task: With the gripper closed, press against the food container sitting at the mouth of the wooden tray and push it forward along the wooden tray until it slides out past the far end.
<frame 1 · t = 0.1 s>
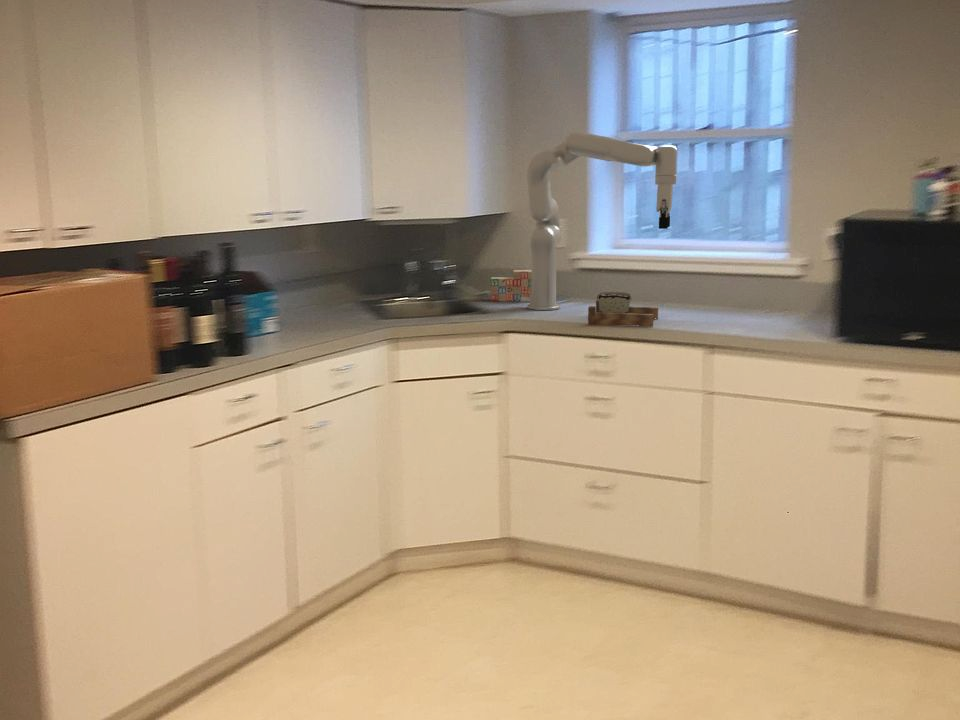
hand: (664, 227, 365), 31 cm above the worktop, tool pointing down, fingers open, 9 cm apart
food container: (615, 321, 351), on the worktop
stack of blocks: (517, 301, 406), on the worktop
wooden tray: (623, 321, 350), on the worktop
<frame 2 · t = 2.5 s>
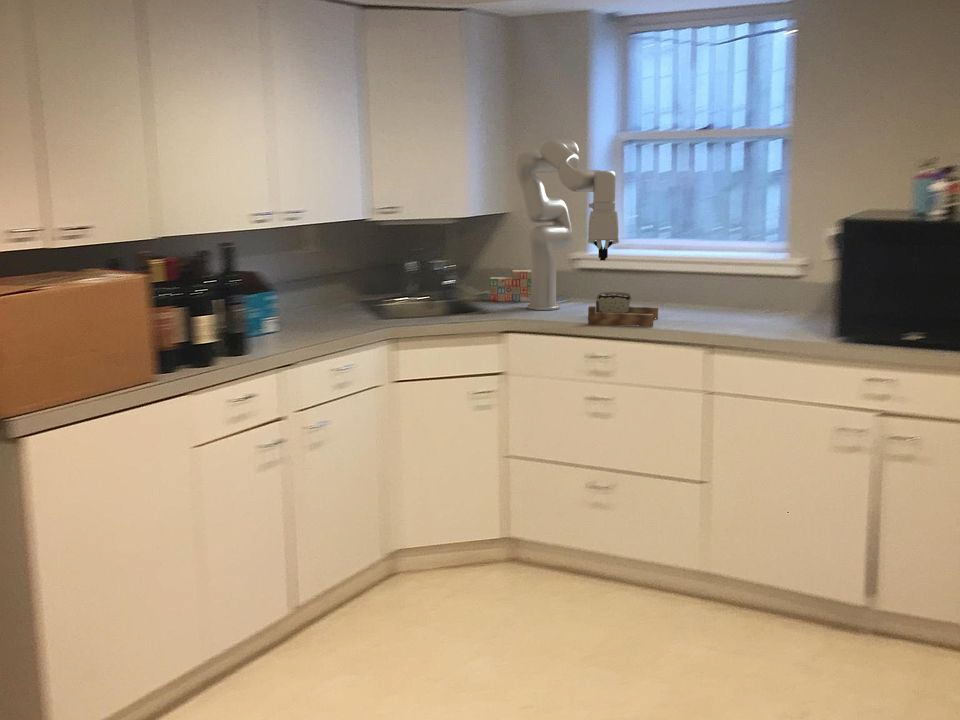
hand: (602, 260, 348), 21 cm above the worktop, tool pointing down, fingers closed
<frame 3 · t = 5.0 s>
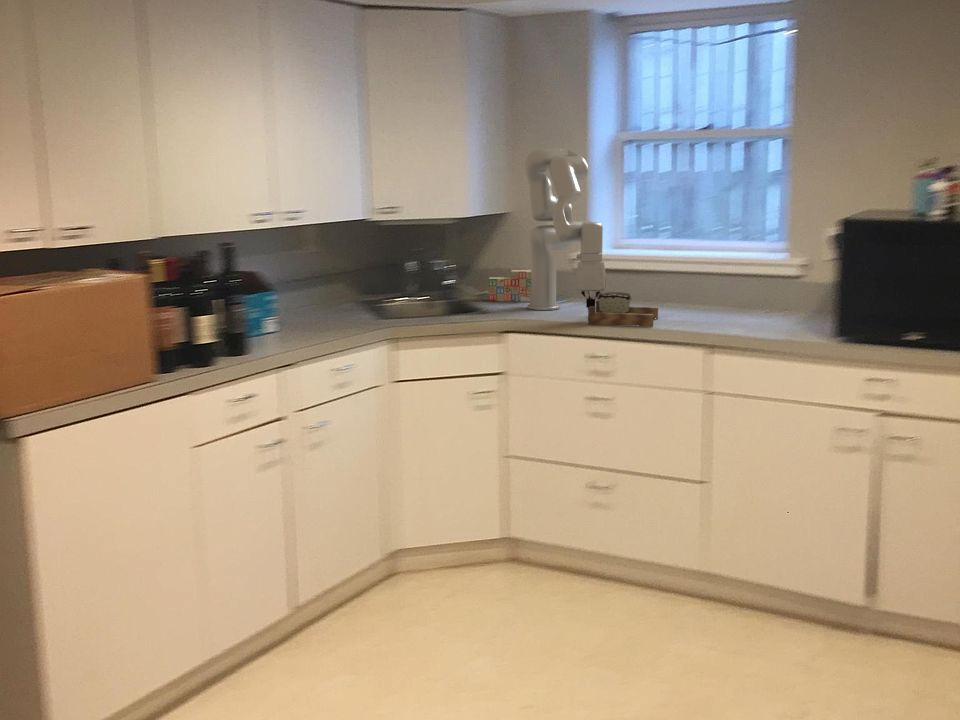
hand: (590, 309, 353), 4 cm above the worktop, tool pointing down, fingers closed
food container: (615, 321, 351), on the worktop, touching gripper
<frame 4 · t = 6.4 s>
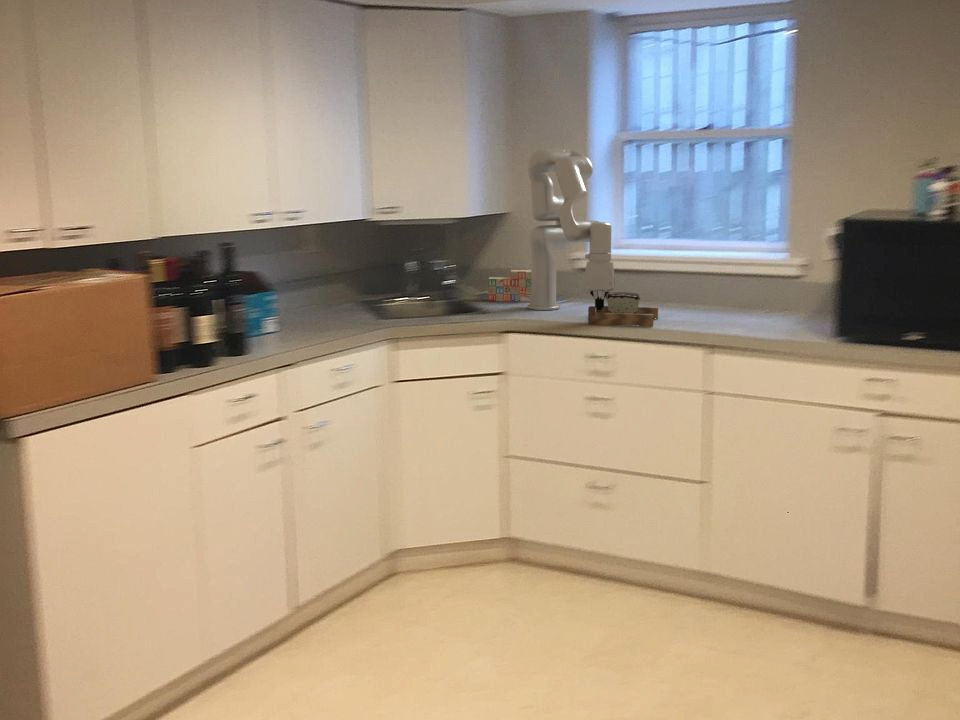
hand: (599, 309, 352), 4 cm above the worktop, tool pointing down, fingers closed
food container: (623, 321, 350), on the worktop, touching gripper
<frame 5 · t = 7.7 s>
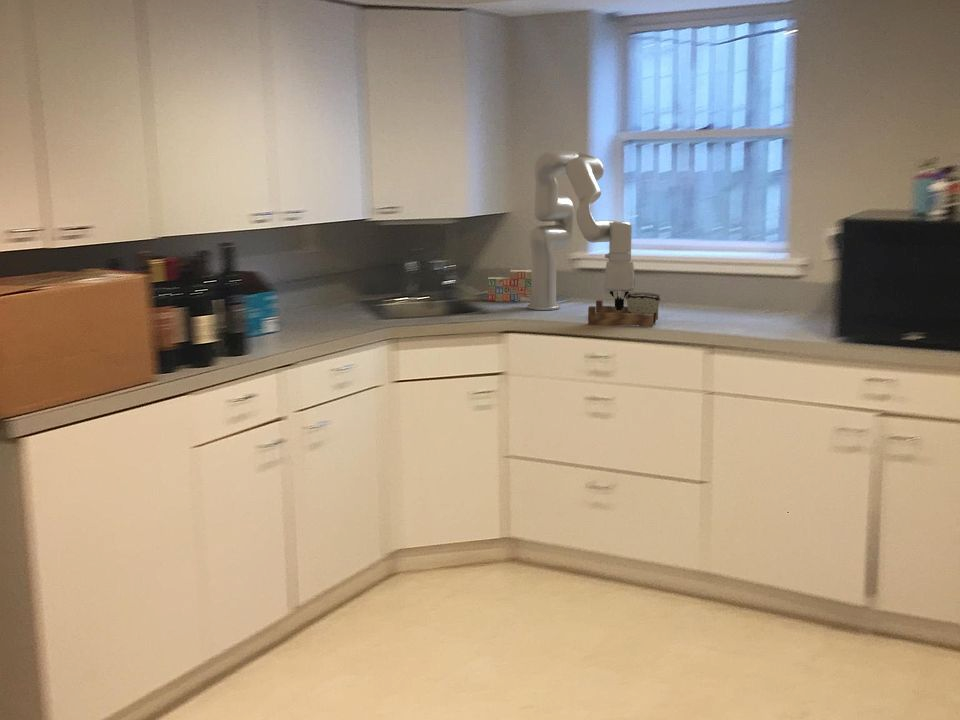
hand: (619, 309, 350), 4 cm above the worktop, tool pointing down, fingers closed
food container: (643, 322, 348), on the worktop, touching gripper
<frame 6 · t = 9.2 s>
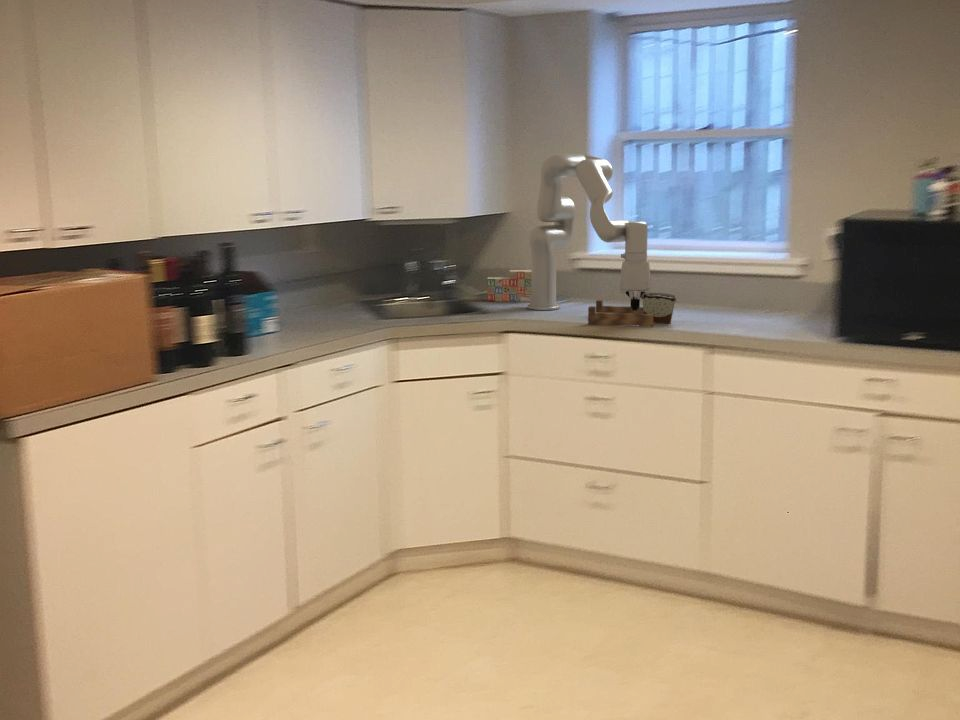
hand: (635, 309, 348), 4 cm above the worktop, tool pointing down, fingers closed
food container: (658, 322, 346), on the worktop, touching gripper
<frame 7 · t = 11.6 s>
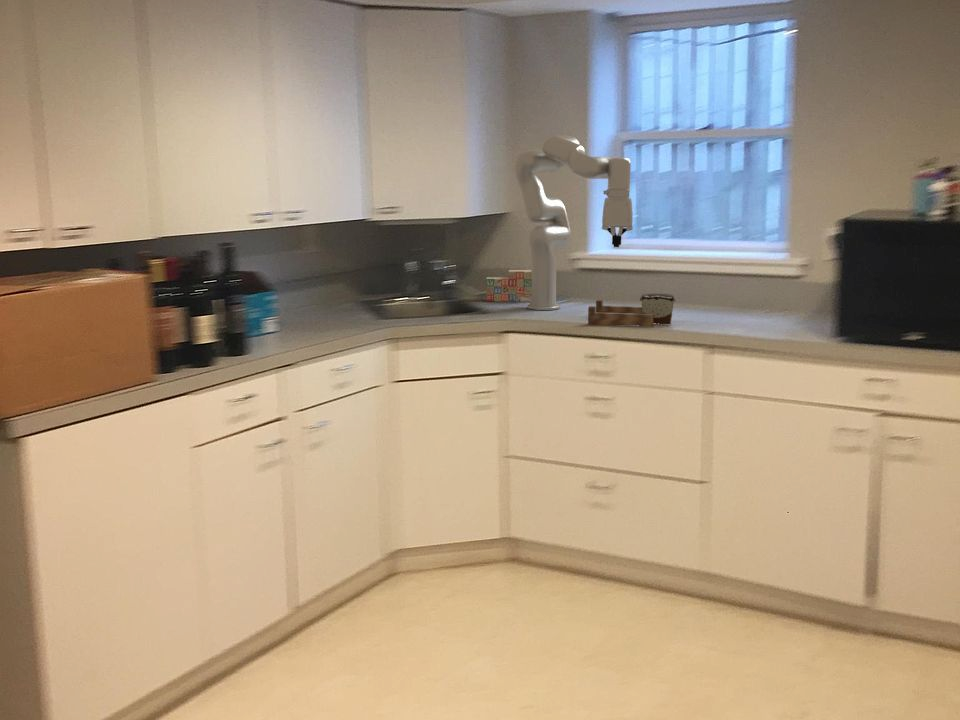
hand: (616, 246, 350), 26 cm above the worktop, tool pointing down, fingers closed
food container: (658, 323, 346), on the worktop
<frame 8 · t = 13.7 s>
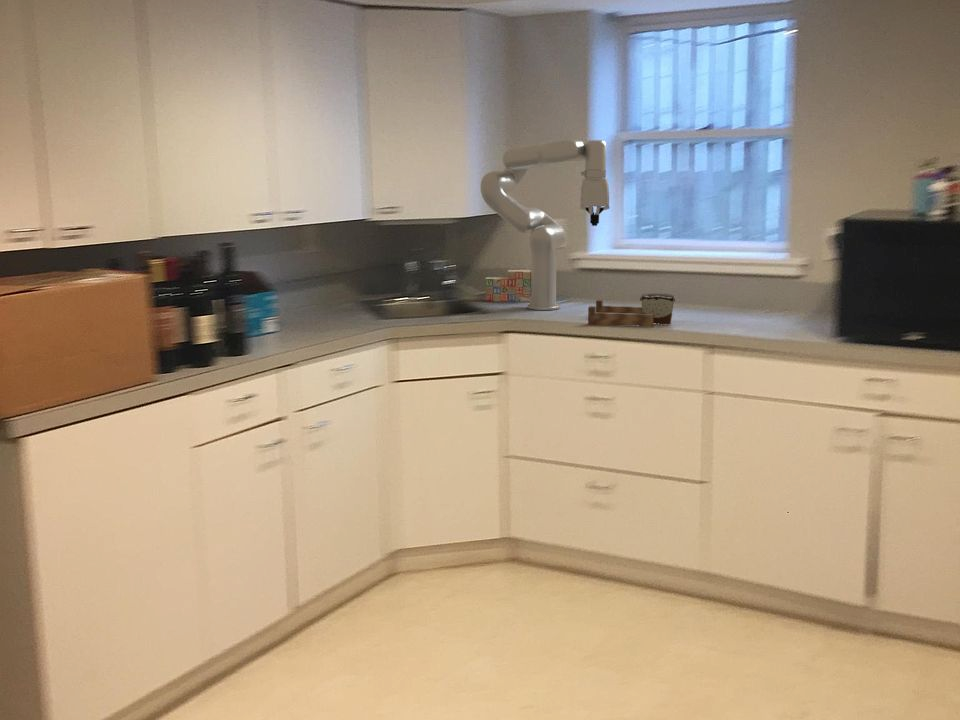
hand: (594, 225, 367), 32 cm above the worktop, tool pointing down, fingers closed
at the end: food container inside the target area (1.6 cm from its centre), on the worktop; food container tilted 0°; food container moved 15.2 cm from its start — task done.
